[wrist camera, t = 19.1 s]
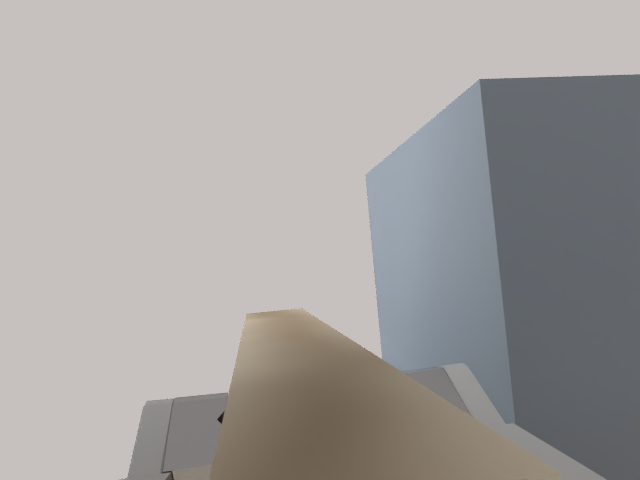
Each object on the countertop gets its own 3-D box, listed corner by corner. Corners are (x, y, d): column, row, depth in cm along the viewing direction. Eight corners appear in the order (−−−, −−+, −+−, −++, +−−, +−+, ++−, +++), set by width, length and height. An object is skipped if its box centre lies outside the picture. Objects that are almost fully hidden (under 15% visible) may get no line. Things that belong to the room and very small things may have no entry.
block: (227, 971, 3) (197, 533, 4) (251, 370, 25) (246, 313, 25) (606, 857, 4) (560, 472, 4) (306, 363, 25) (301, 308, 26)
